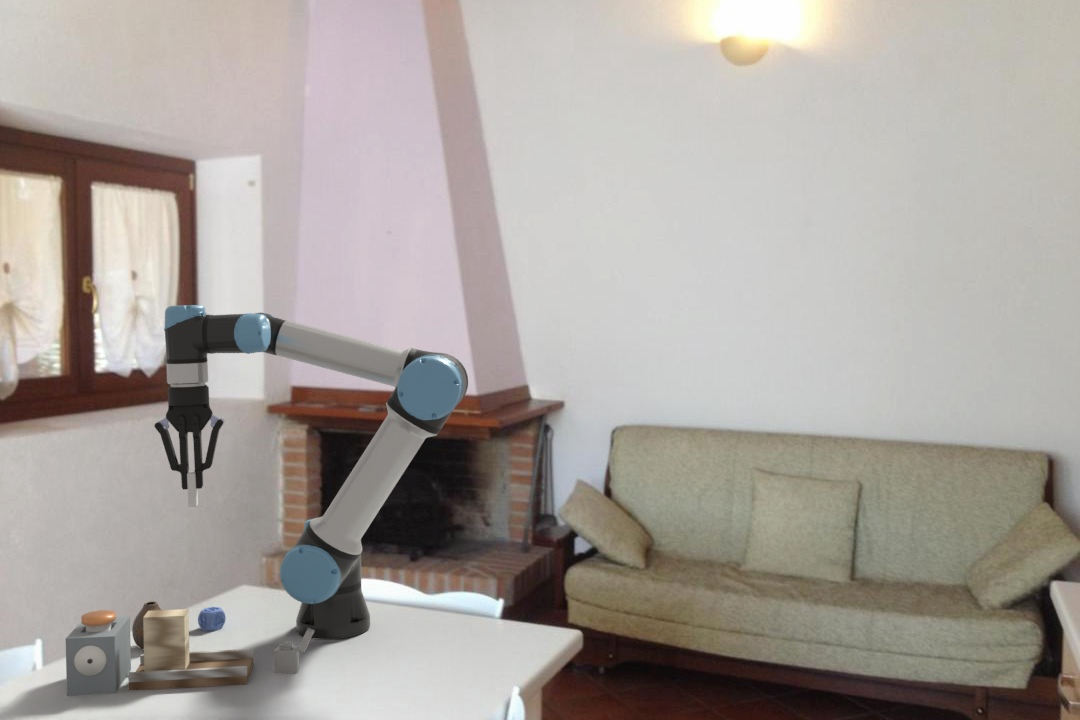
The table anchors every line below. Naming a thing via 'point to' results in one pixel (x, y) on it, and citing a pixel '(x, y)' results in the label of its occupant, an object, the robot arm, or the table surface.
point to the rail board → (197, 671)
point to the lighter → (290, 655)
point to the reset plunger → (98, 620)
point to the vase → (138, 623)
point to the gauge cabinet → (98, 658)
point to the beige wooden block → (166, 640)
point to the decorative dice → (211, 619)
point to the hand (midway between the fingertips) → (193, 505)
